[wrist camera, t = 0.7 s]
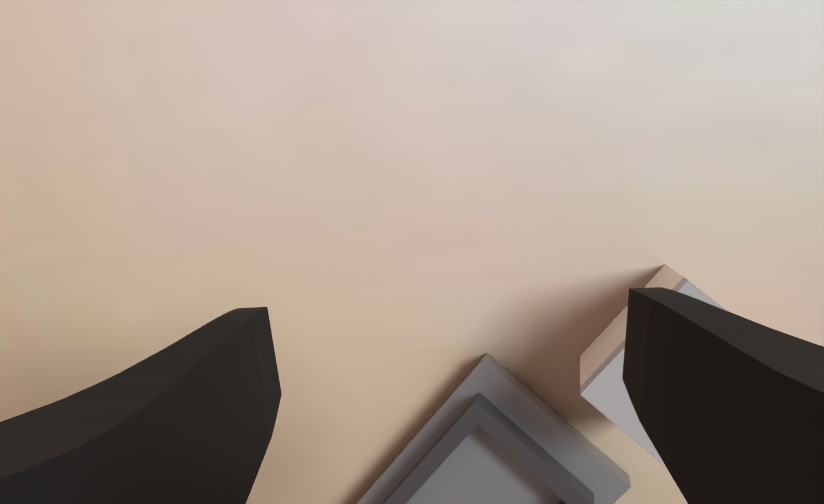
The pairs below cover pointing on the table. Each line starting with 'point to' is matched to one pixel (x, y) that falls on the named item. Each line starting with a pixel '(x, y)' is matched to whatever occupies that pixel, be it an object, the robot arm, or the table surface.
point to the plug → (606, 364)
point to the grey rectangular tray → (497, 452)
